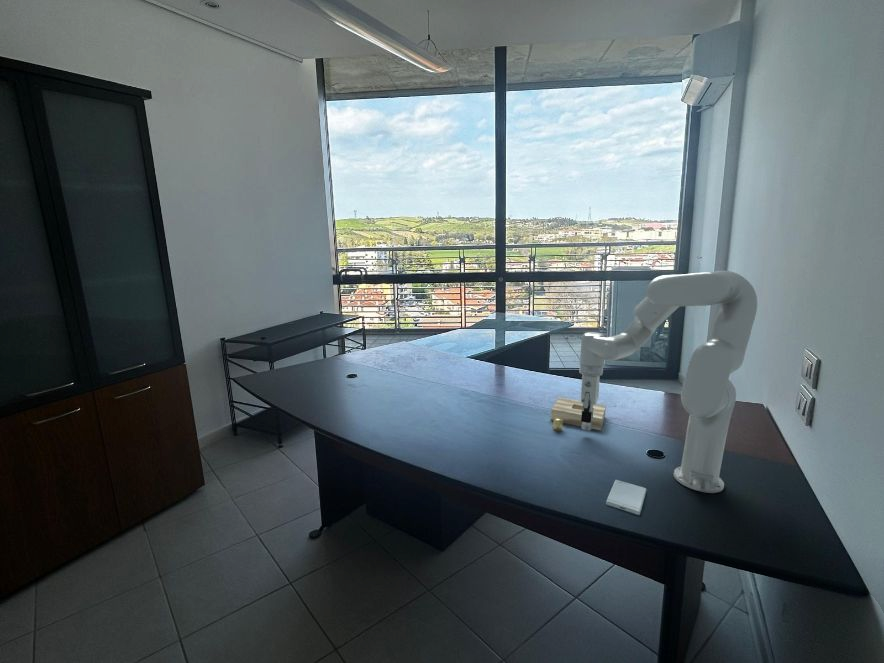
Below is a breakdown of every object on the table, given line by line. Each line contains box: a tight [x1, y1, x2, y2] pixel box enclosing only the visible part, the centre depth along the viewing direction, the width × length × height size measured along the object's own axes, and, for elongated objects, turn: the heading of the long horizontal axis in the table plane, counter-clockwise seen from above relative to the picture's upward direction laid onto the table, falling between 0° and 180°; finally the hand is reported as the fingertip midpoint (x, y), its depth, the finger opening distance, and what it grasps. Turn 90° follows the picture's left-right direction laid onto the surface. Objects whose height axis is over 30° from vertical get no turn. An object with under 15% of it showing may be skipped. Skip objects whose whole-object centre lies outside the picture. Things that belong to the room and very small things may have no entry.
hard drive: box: [605, 479, 648, 516], centre depth 117 cm, size 2×8×12 cm
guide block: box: [550, 396, 607, 431], centre depth 167 cm, size 14×18×4 cm
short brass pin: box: [552, 417, 564, 432], centre depth 157 cm, size 3×3×4 cm
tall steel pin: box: [580, 401, 593, 431], centre depth 152 cm, size 3×3×10 cm
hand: (586, 419), depth 152 cm, fingers closed on tall steel pin, 3 cm apart
